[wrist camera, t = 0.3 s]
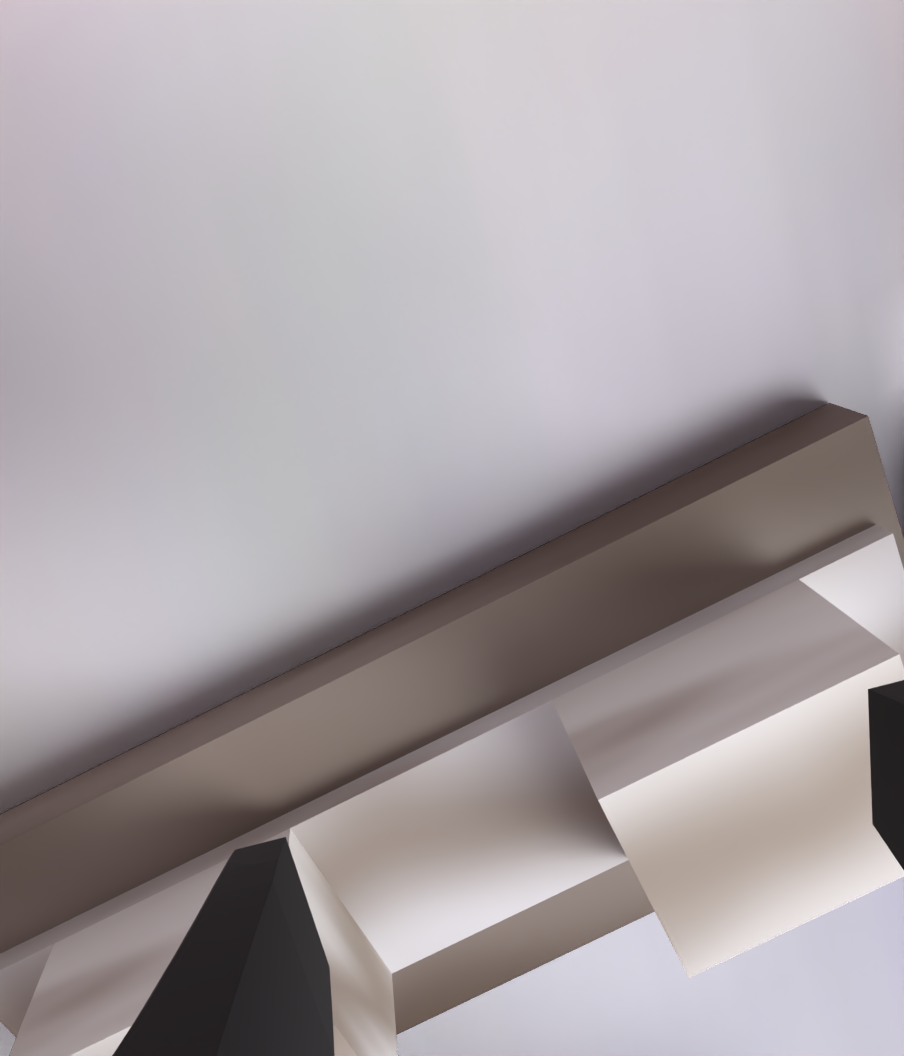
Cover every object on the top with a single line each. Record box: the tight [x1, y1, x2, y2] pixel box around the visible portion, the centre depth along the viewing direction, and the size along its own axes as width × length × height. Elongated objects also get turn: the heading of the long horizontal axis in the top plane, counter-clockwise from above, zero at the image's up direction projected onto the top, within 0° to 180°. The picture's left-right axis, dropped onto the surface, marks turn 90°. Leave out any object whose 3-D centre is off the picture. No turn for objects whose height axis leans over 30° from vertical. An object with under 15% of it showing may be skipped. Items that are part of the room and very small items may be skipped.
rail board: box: [0, 403, 904, 1056], centre depth 19 cm, size 10×24×6 cm, turn 116°
